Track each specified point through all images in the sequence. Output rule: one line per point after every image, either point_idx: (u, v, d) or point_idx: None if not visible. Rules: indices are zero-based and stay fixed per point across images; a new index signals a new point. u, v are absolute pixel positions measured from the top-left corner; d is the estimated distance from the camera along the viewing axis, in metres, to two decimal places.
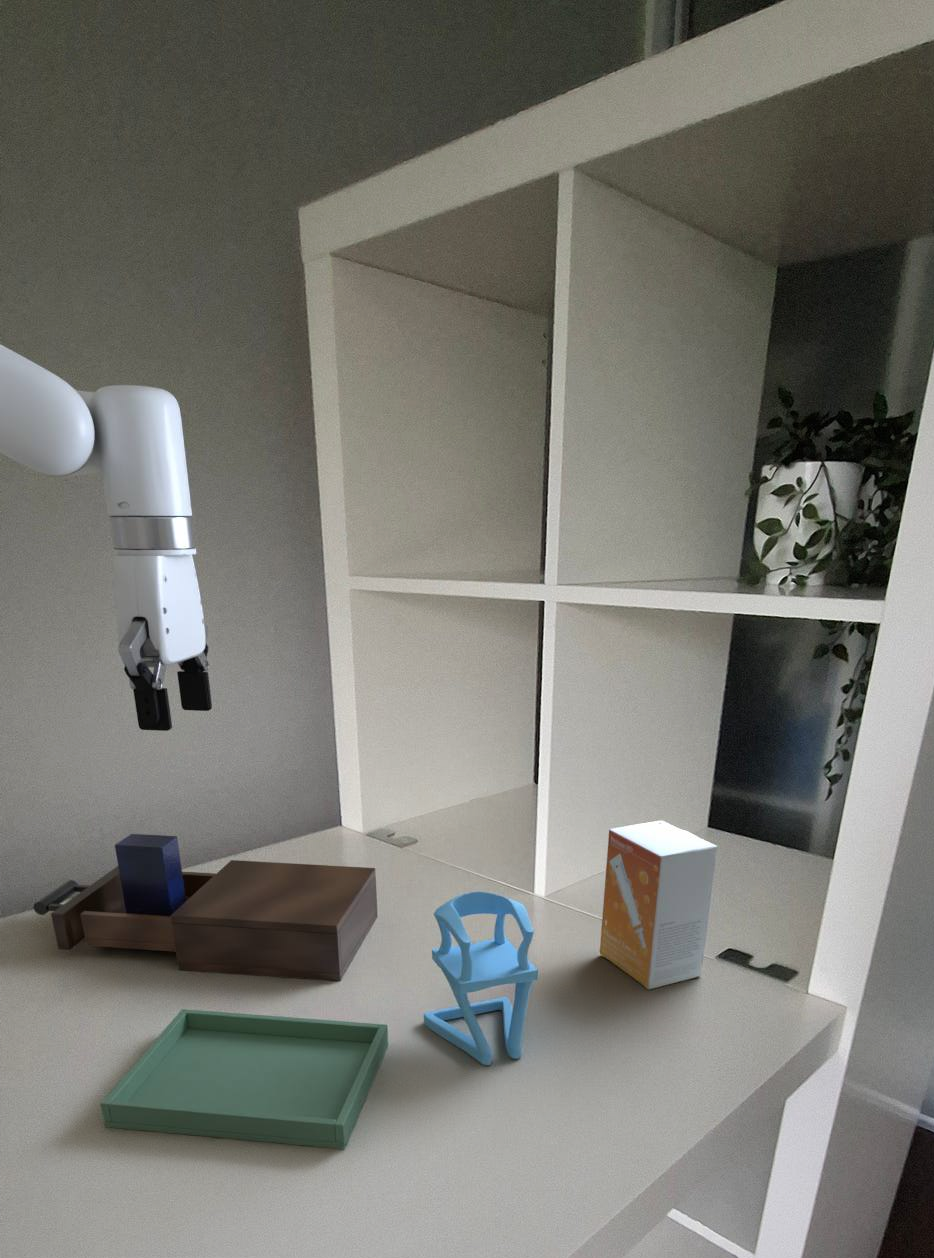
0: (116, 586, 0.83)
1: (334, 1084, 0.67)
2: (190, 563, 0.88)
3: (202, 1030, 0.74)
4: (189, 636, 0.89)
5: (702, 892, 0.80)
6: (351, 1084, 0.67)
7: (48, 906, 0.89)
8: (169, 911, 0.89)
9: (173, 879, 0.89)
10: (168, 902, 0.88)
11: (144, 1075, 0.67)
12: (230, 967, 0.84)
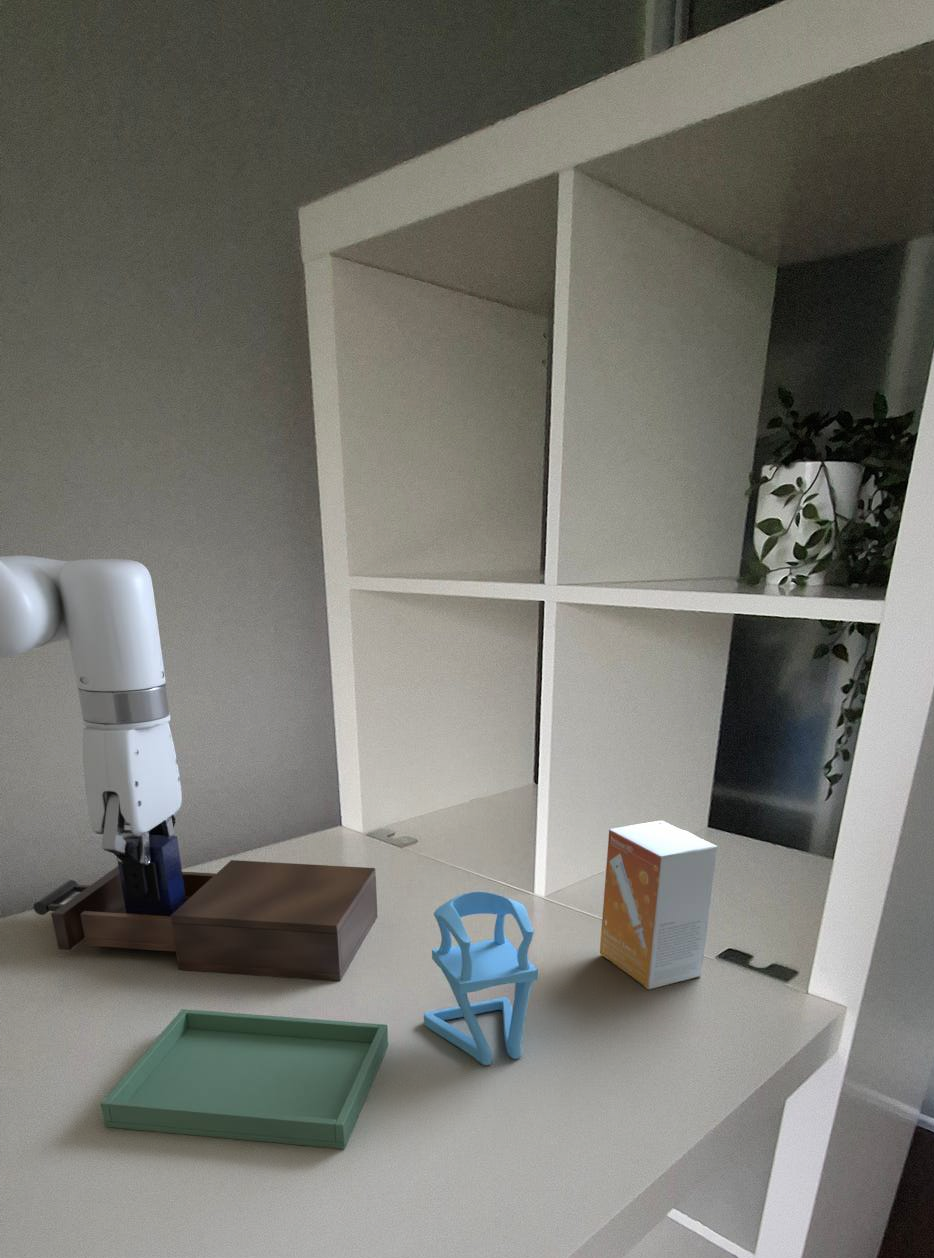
0: (85, 760, 0.80)
1: (334, 1084, 0.67)
2: (164, 726, 0.85)
3: (202, 1030, 0.74)
4: (163, 800, 0.86)
5: (702, 892, 0.80)
6: (351, 1084, 0.67)
7: (48, 906, 0.89)
8: (169, 911, 0.89)
9: (173, 879, 0.89)
10: (168, 902, 0.88)
11: (144, 1075, 0.67)
12: (230, 967, 0.84)
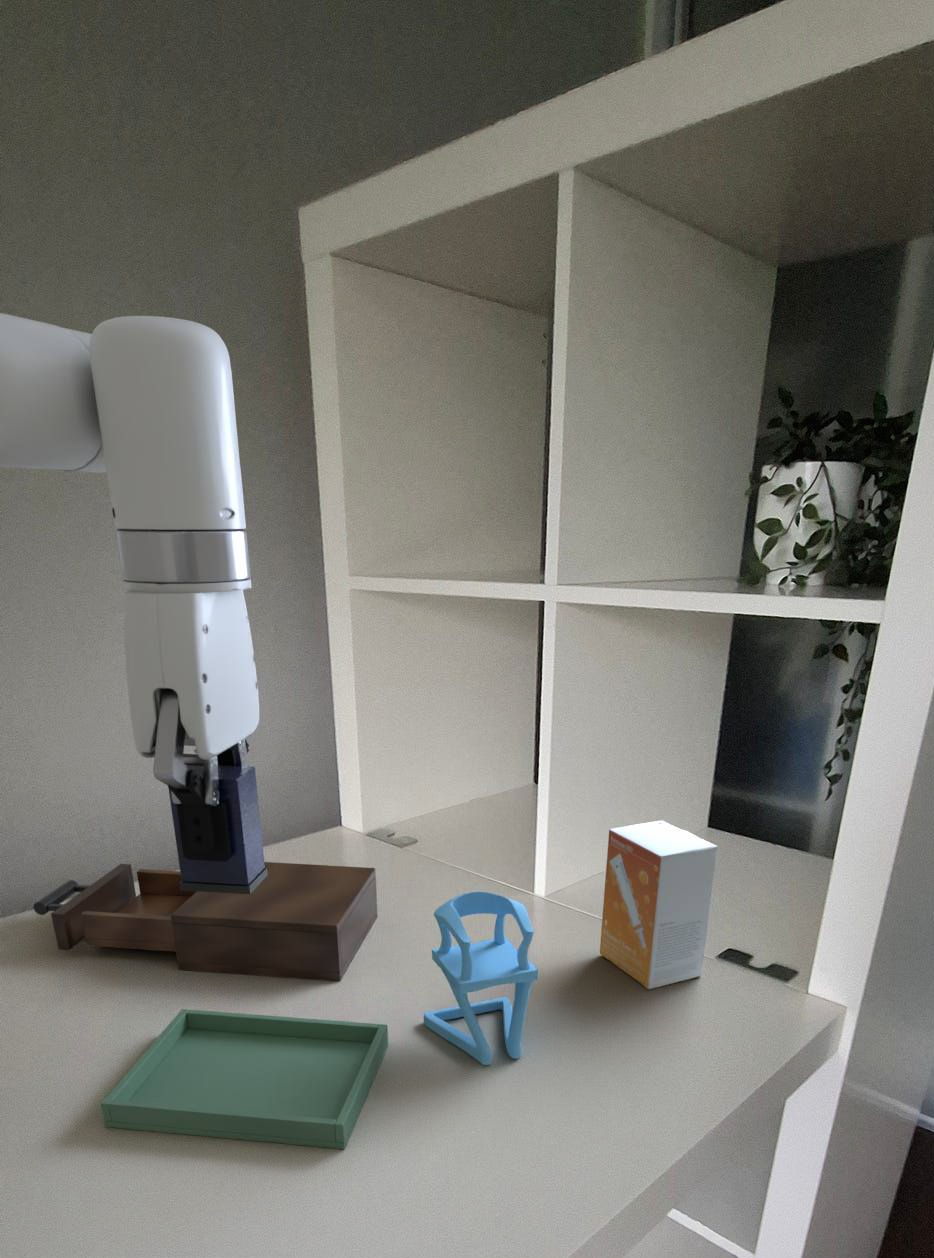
0: (128, 641, 0.53)
1: (334, 1084, 0.67)
2: (240, 601, 0.58)
3: (202, 1030, 0.74)
4: (238, 711, 0.59)
5: (702, 892, 0.80)
6: (351, 1084, 0.67)
7: (48, 906, 0.89)
8: (244, 875, 0.61)
9: (250, 828, 0.61)
10: (243, 861, 0.61)
11: (144, 1075, 0.67)
12: (230, 967, 0.84)
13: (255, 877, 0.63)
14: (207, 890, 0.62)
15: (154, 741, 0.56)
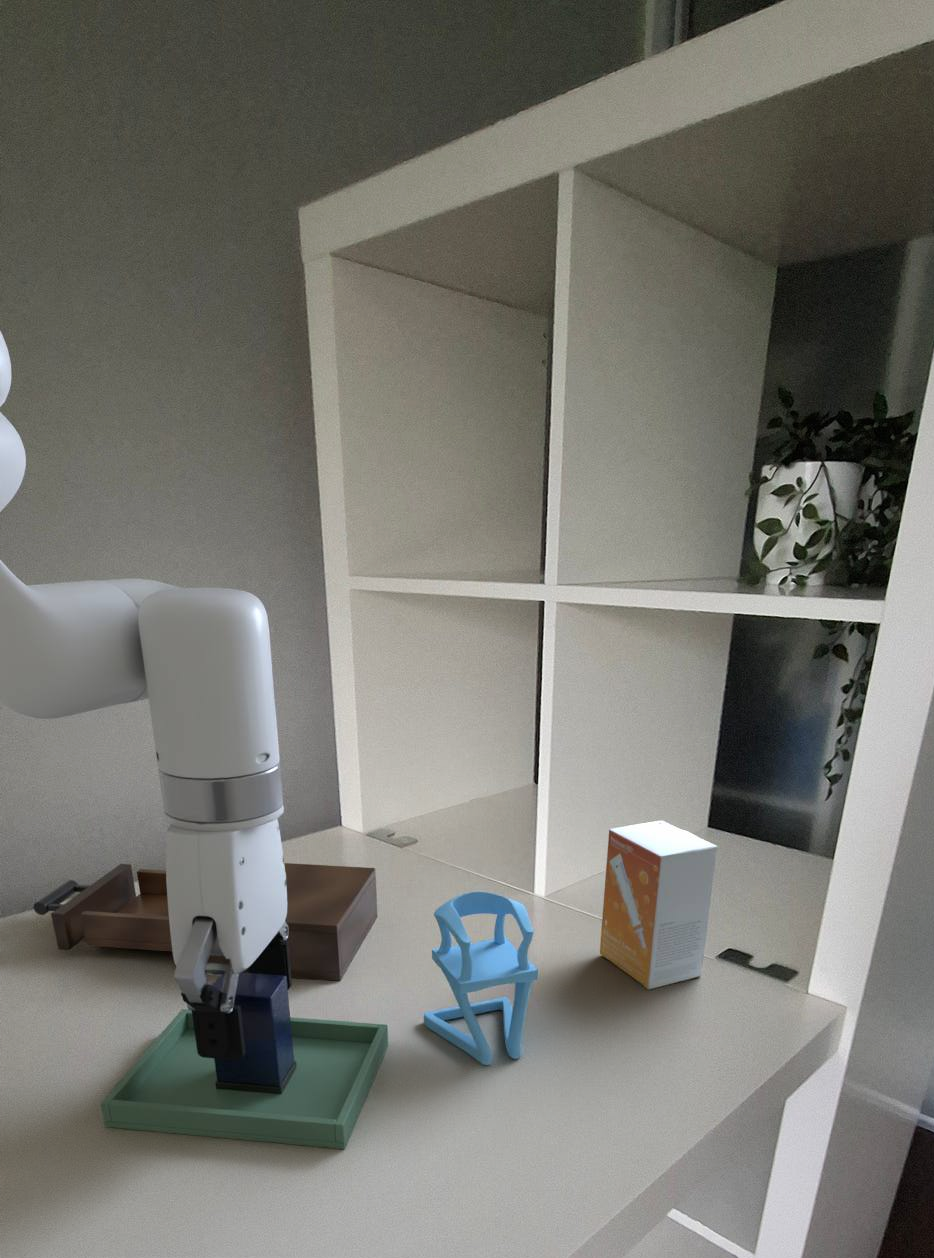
0: (170, 873, 0.56)
1: (334, 1084, 0.67)
2: None
3: None
4: (269, 918, 0.62)
5: (702, 892, 0.80)
6: (351, 1084, 0.67)
7: (48, 906, 0.89)
8: (276, 1077, 0.65)
9: (282, 1034, 0.66)
10: (275, 1066, 0.65)
11: (144, 1075, 0.67)
12: None
13: (285, 1075, 0.67)
14: (241, 1089, 0.66)
15: None
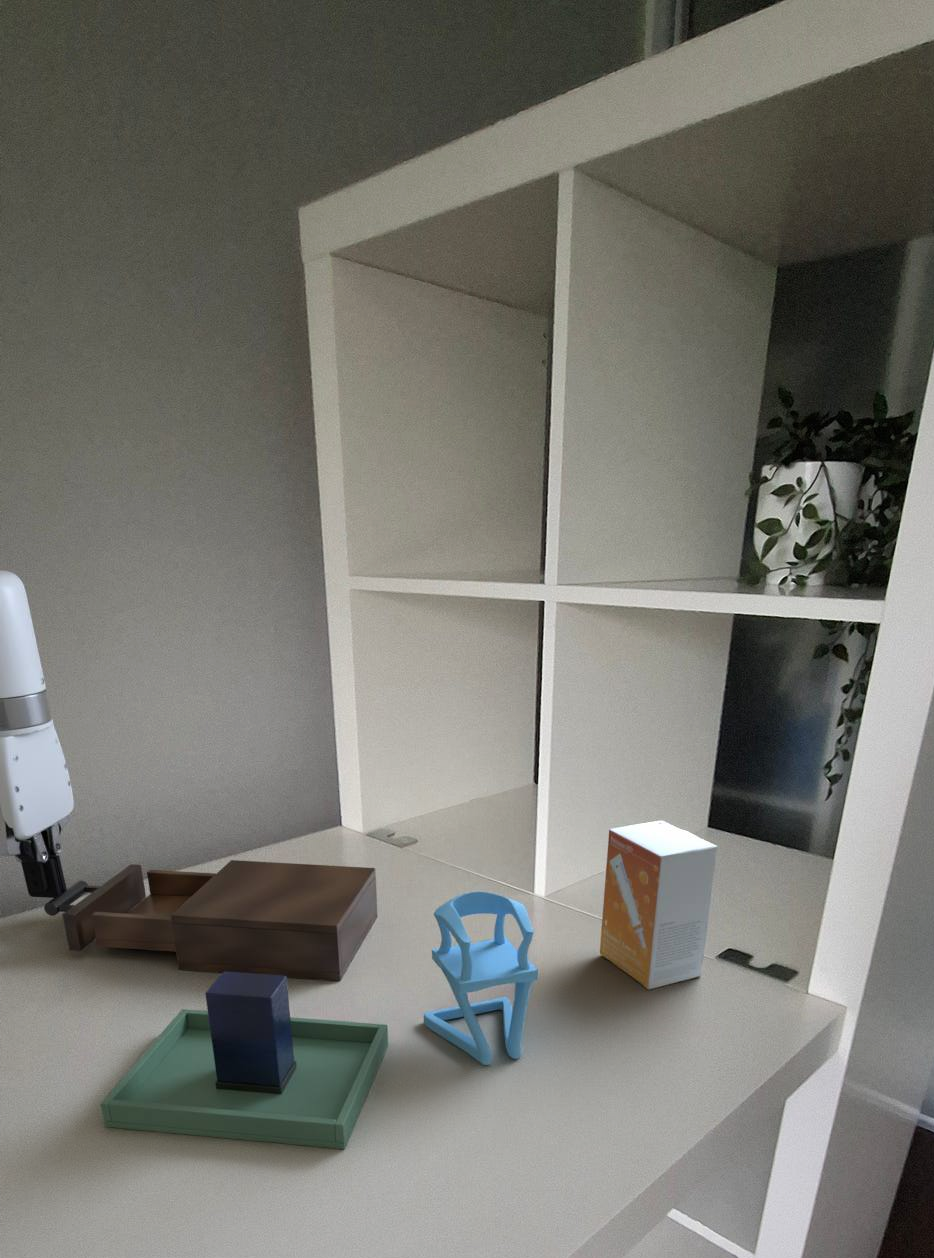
0: None
1: (334, 1084, 0.67)
2: (49, 732, 0.87)
3: (202, 1030, 0.74)
4: (50, 805, 0.88)
5: (702, 892, 0.80)
6: (351, 1084, 0.67)
7: (59, 907, 0.89)
8: (276, 1077, 0.65)
9: (282, 1034, 0.66)
10: (275, 1066, 0.65)
11: (144, 1075, 0.67)
12: (230, 967, 0.84)
13: (285, 1075, 0.67)
14: (241, 1089, 0.66)
15: None
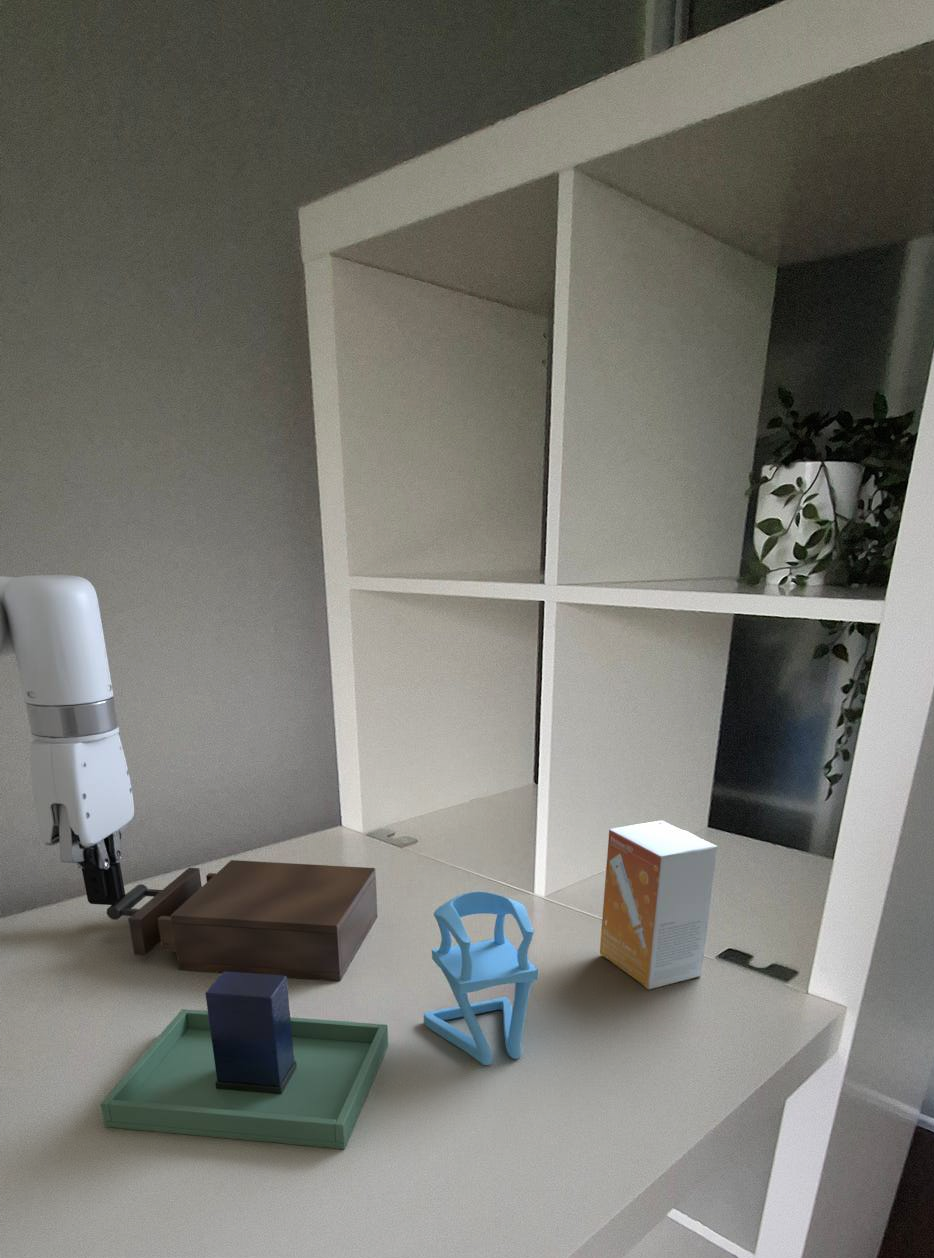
0: (33, 773, 0.81)
1: (334, 1084, 0.67)
2: (114, 739, 0.86)
3: (202, 1030, 0.74)
4: (114, 812, 0.87)
5: (702, 892, 0.80)
6: (351, 1084, 0.67)
7: (121, 911, 0.88)
8: (276, 1077, 0.65)
9: (282, 1034, 0.66)
10: (275, 1066, 0.65)
11: (144, 1075, 0.67)
12: (230, 967, 0.84)
13: (285, 1075, 0.67)
14: (241, 1089, 0.66)
15: (55, 834, 0.85)
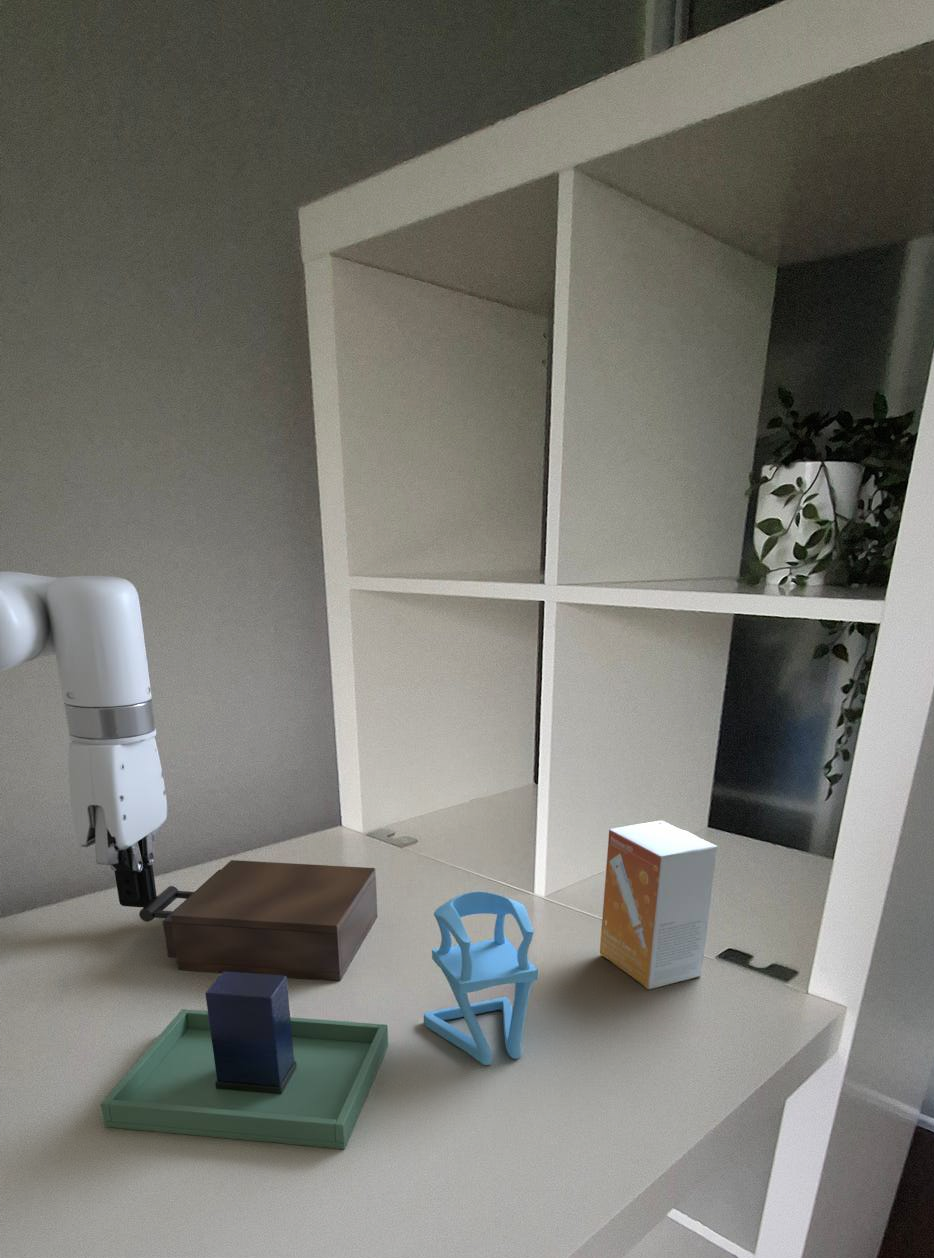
0: (71, 775, 0.81)
1: (334, 1084, 0.67)
2: (150, 741, 0.86)
3: (202, 1030, 0.74)
4: (149, 814, 0.87)
5: (702, 892, 0.80)
6: (351, 1084, 0.67)
7: (154, 913, 0.88)
8: (276, 1077, 0.65)
9: (282, 1034, 0.66)
10: (275, 1066, 0.65)
11: (144, 1075, 0.67)
12: (230, 967, 0.84)
13: (285, 1075, 0.67)
14: (241, 1089, 0.66)
15: (90, 836, 0.85)
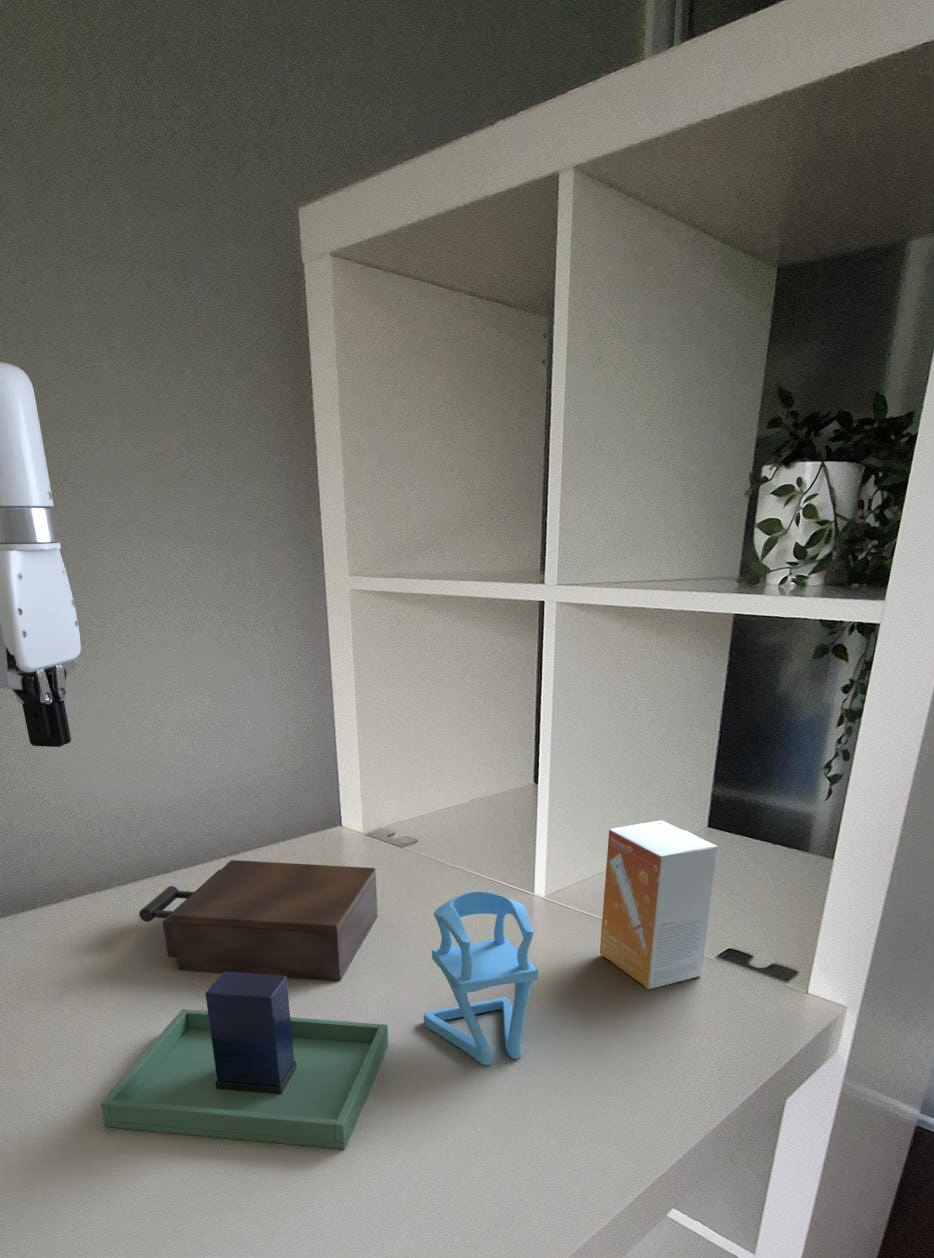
0: None
1: (334, 1084, 0.67)
2: (55, 559, 0.80)
3: (202, 1030, 0.74)
4: (56, 640, 0.81)
5: (702, 892, 0.80)
6: (351, 1084, 0.67)
7: (154, 913, 0.88)
8: (276, 1077, 0.65)
9: (282, 1034, 0.66)
10: (275, 1066, 0.65)
11: (144, 1075, 0.67)
12: (230, 967, 0.84)
13: (285, 1075, 0.67)
14: (241, 1089, 0.66)
15: None
